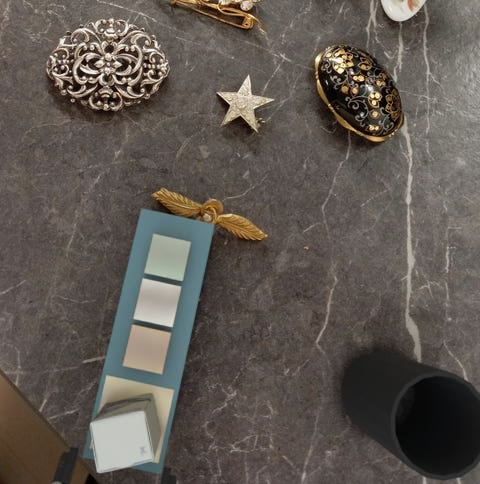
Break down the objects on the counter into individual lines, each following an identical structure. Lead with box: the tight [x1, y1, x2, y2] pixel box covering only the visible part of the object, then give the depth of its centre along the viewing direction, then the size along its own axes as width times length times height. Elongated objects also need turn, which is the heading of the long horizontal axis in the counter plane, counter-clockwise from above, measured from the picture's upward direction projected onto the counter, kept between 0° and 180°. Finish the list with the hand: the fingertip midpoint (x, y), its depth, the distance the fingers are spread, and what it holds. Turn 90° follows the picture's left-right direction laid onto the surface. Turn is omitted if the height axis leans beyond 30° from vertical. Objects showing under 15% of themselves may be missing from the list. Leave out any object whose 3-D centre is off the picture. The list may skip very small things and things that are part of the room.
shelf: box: [81, 207, 216, 475], centre depth 106 cm, size 25×8×28 cm, turn 168°
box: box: [89, 393, 161, 474], centre depth 84 cm, size 5×4×13 cm
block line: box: [89, 233, 191, 463], centre depth 90 cm, size 22×7×4 cm, turn 168°
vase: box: [340, 350, 480, 482], centre depth 104 cm, size 10×10×30 cm
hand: (120, 462), depth 82 cm, fingers open, 8 cm apart
